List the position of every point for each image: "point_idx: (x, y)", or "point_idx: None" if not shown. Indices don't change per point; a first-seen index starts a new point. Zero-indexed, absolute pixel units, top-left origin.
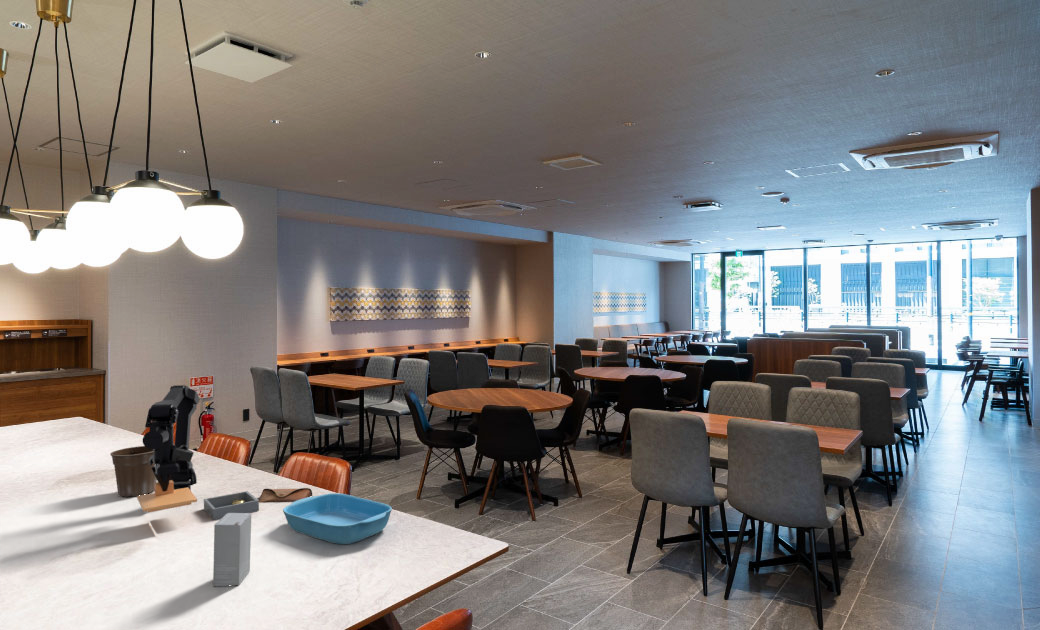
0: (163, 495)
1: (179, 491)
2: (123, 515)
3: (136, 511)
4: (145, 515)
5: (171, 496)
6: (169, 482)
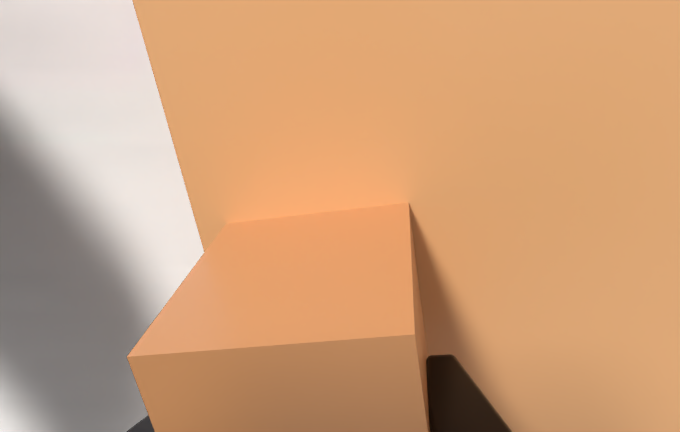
0: (483, 358)
1: (362, 94)
2: (92, 426)
3: (20, 356)
4: (155, 309)
5: (644, 246)
6: (368, 425)
